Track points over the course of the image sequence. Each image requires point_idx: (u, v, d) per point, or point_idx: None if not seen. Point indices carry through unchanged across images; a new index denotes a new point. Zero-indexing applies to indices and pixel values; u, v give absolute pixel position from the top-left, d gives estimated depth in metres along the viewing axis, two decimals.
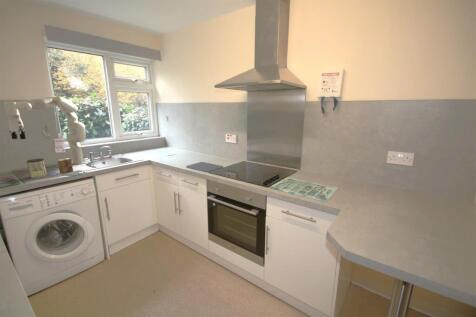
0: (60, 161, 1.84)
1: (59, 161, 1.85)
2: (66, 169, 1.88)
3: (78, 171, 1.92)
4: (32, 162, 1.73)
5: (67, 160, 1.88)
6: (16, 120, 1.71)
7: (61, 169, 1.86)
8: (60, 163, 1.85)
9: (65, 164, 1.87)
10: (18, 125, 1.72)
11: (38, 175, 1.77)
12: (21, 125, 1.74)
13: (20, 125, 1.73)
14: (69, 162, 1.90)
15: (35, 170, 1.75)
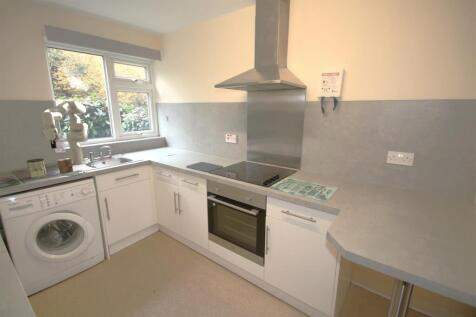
0: (60, 161, 1.84)
1: (59, 161, 1.85)
2: (66, 169, 1.88)
3: (78, 171, 1.92)
4: (32, 162, 1.73)
5: (67, 160, 1.88)
6: (52, 129, 1.83)
7: (61, 169, 1.86)
8: (60, 163, 1.85)
9: (65, 164, 1.87)
10: (54, 134, 1.84)
11: (38, 175, 1.77)
12: (56, 134, 1.85)
13: (56, 134, 1.85)
14: (69, 162, 1.90)
15: (35, 170, 1.75)
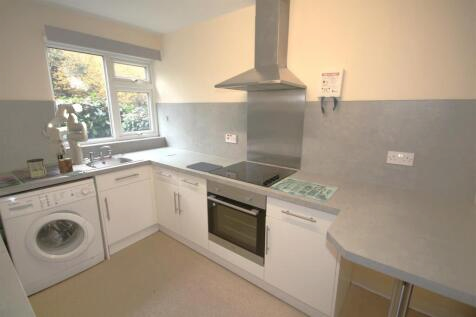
0: (60, 161, 1.84)
1: (59, 161, 1.84)
2: (67, 169, 1.88)
3: (78, 171, 1.92)
4: (32, 162, 1.73)
5: (67, 160, 1.88)
6: (59, 144, 1.84)
7: (61, 169, 1.86)
8: (60, 163, 1.85)
9: (65, 164, 1.87)
10: (61, 149, 1.85)
11: (38, 175, 1.77)
12: (63, 149, 1.87)
13: (62, 149, 1.86)
14: (70, 162, 1.90)
15: (35, 170, 1.75)
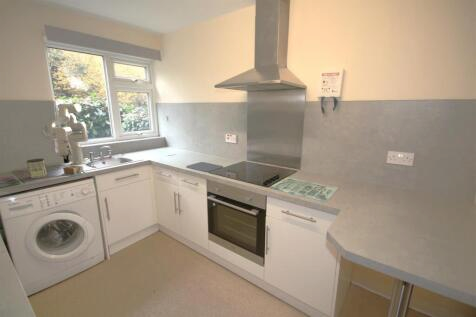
0: (73, 172, 1.83)
1: (73, 171, 1.83)
2: None
3: None
4: (32, 162, 1.73)
5: None
6: (65, 145, 1.82)
7: (67, 171, 1.85)
8: (71, 171, 1.83)
9: None
10: (67, 149, 1.83)
11: (38, 175, 1.77)
12: (69, 149, 1.85)
13: (68, 149, 1.84)
14: None
15: (35, 170, 1.75)
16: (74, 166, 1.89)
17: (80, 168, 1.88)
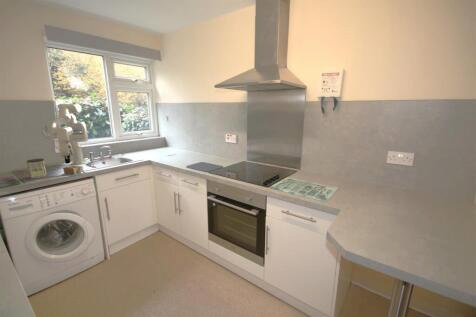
0: (73, 172, 1.83)
1: (73, 171, 1.83)
2: None
3: None
4: (32, 162, 1.73)
5: None
6: (66, 145, 1.82)
7: (67, 171, 1.85)
8: (71, 171, 1.83)
9: None
10: (68, 149, 1.83)
11: (38, 175, 1.77)
12: (70, 149, 1.85)
13: (70, 149, 1.84)
14: None
15: (35, 170, 1.75)
16: (74, 166, 1.89)
17: (80, 168, 1.88)
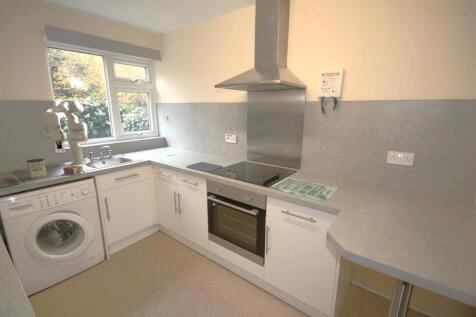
0: (73, 172, 1.83)
1: (73, 171, 1.83)
2: None
3: None
4: (32, 162, 1.73)
5: None
6: (58, 130, 1.82)
7: (67, 171, 1.85)
8: (71, 171, 1.83)
9: None
10: (60, 135, 1.83)
11: (38, 175, 1.77)
12: (62, 135, 1.84)
13: (61, 135, 1.84)
14: None
15: (35, 170, 1.75)
16: (74, 166, 1.89)
17: (80, 168, 1.88)
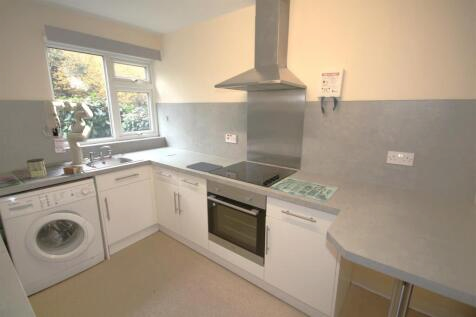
0: (73, 172, 1.83)
1: (73, 171, 1.83)
2: None
3: None
4: (32, 162, 1.73)
5: None
6: (54, 118, 1.90)
7: (67, 171, 1.85)
8: (71, 171, 1.83)
9: None
10: (56, 122, 1.91)
11: (38, 175, 1.77)
12: (58, 122, 1.93)
13: (57, 122, 1.92)
14: None
15: (35, 170, 1.75)
16: (74, 166, 1.89)
17: (80, 168, 1.88)
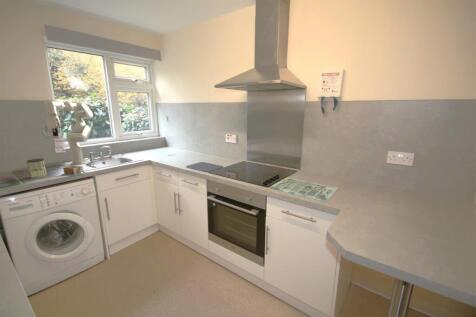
0: (73, 172, 1.83)
1: (73, 171, 1.83)
2: None
3: None
4: (32, 162, 1.73)
5: None
6: (54, 117, 1.90)
7: (67, 171, 1.85)
8: (71, 171, 1.83)
9: None
10: (56, 122, 1.91)
11: (38, 175, 1.77)
12: (58, 122, 1.93)
13: (57, 122, 1.92)
14: None
15: (35, 170, 1.75)
16: (74, 166, 1.89)
17: (80, 168, 1.88)
